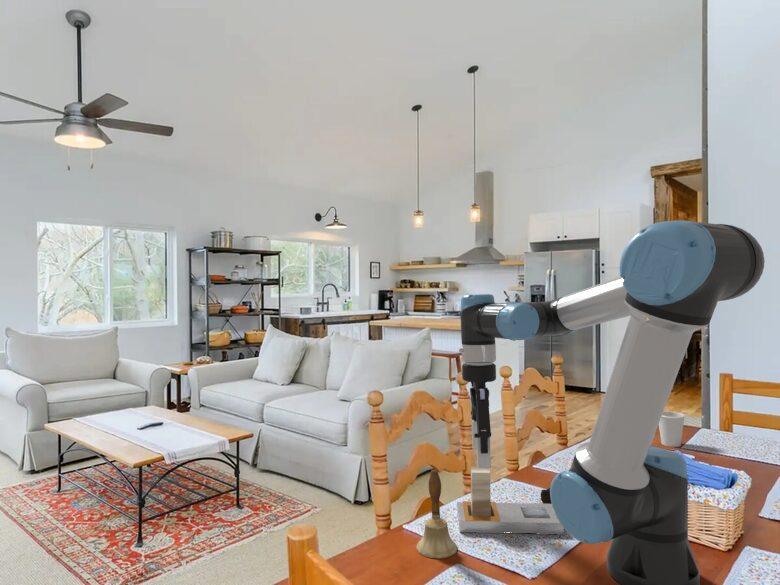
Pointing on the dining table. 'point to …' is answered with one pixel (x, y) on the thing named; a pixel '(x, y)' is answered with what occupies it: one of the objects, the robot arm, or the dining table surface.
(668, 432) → the dixie cup
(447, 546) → the hand bell
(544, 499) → the hand tool
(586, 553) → the dining table surface
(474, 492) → the peg
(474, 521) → the grey board
